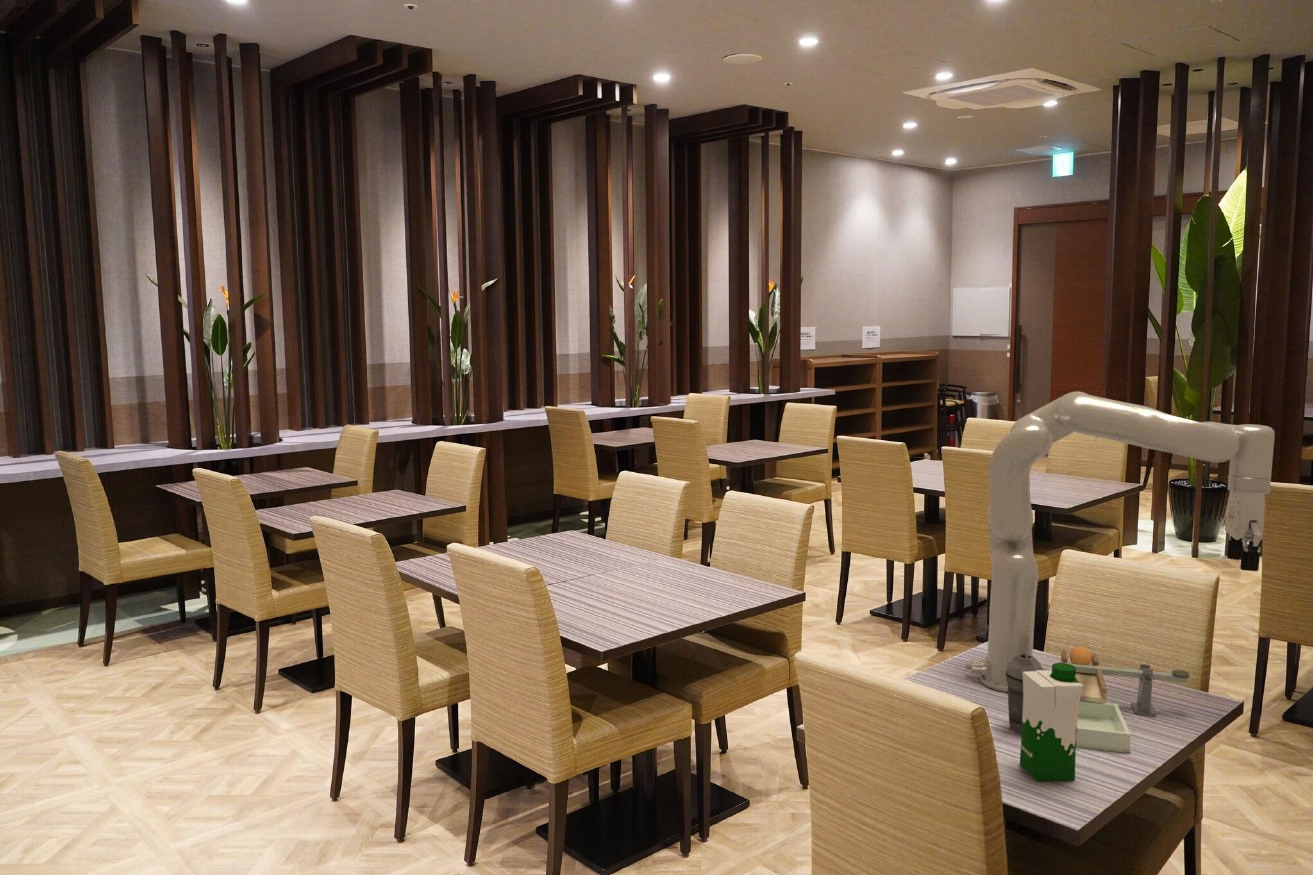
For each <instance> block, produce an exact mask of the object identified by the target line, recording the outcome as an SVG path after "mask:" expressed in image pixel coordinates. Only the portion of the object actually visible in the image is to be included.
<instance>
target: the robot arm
mask: <svg viewBox="0 0 1313 875" xmlns="http://www.w3.org/2000/svg"><path fill="white" fill-rule="evenodd" d="M1073 433H1077V434H1082V435H1087V436H1091V437H1094V438H1095V437H1096V438H1099V439H1100V438H1101V439H1105V440H1110V441H1115V442H1118V443H1119V442H1120V443H1122V444H1128V445H1132V446H1136V447H1140V448H1142V449H1143V448H1145V449H1149V450H1155V451H1156V450H1157V451H1161V452H1165V453H1169V454H1173V455H1178V456H1182V457H1187V458H1191V459H1197V460H1200V461H1205V462H1210V463H1215V464H1216V463H1225V462H1228V461H1229V468H1228V481H1227V490H1228V491H1229V493H1228V494H1229V495H1228V501H1227V506H1226V507H1227V508H1226V513H1225V515H1226V516H1225V519H1224V520H1225V522H1224V531H1225V532H1226V533H1227V534H1228V542H1227V553H1226V557H1227V559H1229V560H1239V561H1240V564H1239V568H1240V570H1241V571H1247V572H1248V571H1250V572H1258V571H1259V570H1260V568H1259V567H1260V558H1261V557H1260V555H1261V545H1262V543H1261V541H1262V539H1263V536H1264V531H1265V530H1264V527H1265V515H1266V514H1265V510H1266V500H1265V499H1266V495H1268V494H1270V493H1271V481H1272V468H1273V458H1274V446H1275V435H1276V434H1275V430H1274V429H1273V428H1272V427H1271V426H1268V425H1262V424H1253V423H1252V424H1249V423H1247V424H1239V425H1238V424H1230V423H1229V424H1228V423H1224V422H1223V423H1222V422H1217V421H1203V422H1201V421H1196V420H1191V419H1187V418H1183V417H1178V416H1176V415H1172V414H1169V413H1166V412H1163V411H1160V410H1158V409H1155V408H1153V407H1149V406H1146V405H1141V404H1135V403H1130V402H1125V401H1120V400H1115V399H1110V398H1105V397H1100V396H1097V395H1090V394H1088V393H1086V392H1084V391H1071V392H1068V393H1066V394H1064V395H1062V396H1060V397H1058V398H1057V399H1054V400H1053V401H1051V402H1050V403H1047V404H1046V405H1045V404H1044V405H1043V406H1041V407H1040V408H1037V409H1036V410H1033V411H1032V412H1030V413H1027V415H1025V416H1023V417H1021V418H1019V419H1018V420H1016V421H1015V422H1014V423H1013V425H1012V426H1011V428H1010V430H1009V433H1008V434H1007V435H1006V436H1004V437H1003V438H1001V440H1000V441H999V442H998V444H997V445H996V447H995V448H994V449H993V452H992V454H991V456H990V458H989V459H990V460H989V465H988V483H989V484H988V490H989V492H988V493H989V494H988V495H989V504H988V508H987V512H986V513H987V514H986V515H987V528H988V543H989V556H990V563H991V564H990V565H991V584H990V598H989V599H990V600H989V620H988V621H989V622H988V623H989V624H988V625H989V626H988V640H987V643H988V644H987V657H984V658H985V659H984V660H980V662H979V661H973V660H965V669H966V670H971V673H976V674H977V673H978V674H979V677H978V678H979V682H980V683H981V684H983V685H984V686H985V687H987V688H989V689H992V690H996V691H1000V692H1005V693H1008V684H1007V679H1006V670H1007V666H1008V664H1009V662H1010V661H1011V660H1012V659H1013V658H1014V657H1016V656H1018V655H1026V645H1027V636H1030V641H1029V652H1028V655H1029V656H1032V657H1033V650H1034V633H1035V632H1034V631H1035V618H1036V617H1035V616H1036V612H1035V611H1036V600H1037V591H1038V586H1039V585H1038V583H1039V567H1038V562H1037V559H1036V557H1035V554H1034V548H1033V547H1034V544H1033V530H1032V528H1033V525H1034V513H1033V510H1032V501H1031V491H1030V490H1031V489H1030V488H1031V485H1030V484H1031V480H1030V478H1031V477H1030V473H1031V469H1032V467H1033V465H1034V463H1035V462H1036V461H1037V460H1040V459H1041V458H1043V457H1045V456H1046V455H1047V454H1048V453H1049V452H1050V451H1051V448H1052V446H1053V444H1054V443H1056V442H1058V441H1060V440H1062V439H1064V438H1066V437H1068V436H1070V435H1071V434H1073Z"/></svg>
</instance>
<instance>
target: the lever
mask: <svg viewBox="0 0 1313 875" xmlns="http://www.w3.org/2000/svg"><path fill="white" fill-rule="evenodd" d="M1066 664H1070V665H1073V666H1074V667H1076V672H1082V673H1092V674H1096V673H1097V669H1101V671H1102V674H1103V676H1104V675H1105V676H1115V677H1125V678H1135V679H1139V678H1142V674H1143V670H1140V669H1130V668H1119V667H1113V666H1112V667H1111V666H1110V667H1109V666H1101V665H1100V666H1099V665H1098V666H1091V665H1081V664H1071V663H1066ZM1189 678H1190V673H1189V672H1188V671H1186V670H1183V669H1182V670H1180V669H1173V670H1172V671H1171V672H1161V671H1153V676H1152V681H1154V680H1155V681H1163V682H1174V683H1185V684H1186V683H1187V679H1189Z"/></svg>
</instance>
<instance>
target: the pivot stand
mask: <svg viewBox="0 0 1313 875" xmlns="http://www.w3.org/2000/svg"><path fill="white" fill-rule="evenodd" d="M1139 670H1143V674H1142V678H1138V690H1137V702H1132V701H1131V702H1130V707H1131V709H1132V710H1133V712H1134V714H1135V715H1138V716H1146V715H1147V716H1148V717H1155V718H1156V717H1157V713H1156V711H1155V710H1156V709H1155V708H1154V706H1153V704H1152V692H1153V690H1152V689H1153V680H1152V676H1153V672H1154V670H1153V669H1151V665H1150V664H1148V663H1147V664H1145V663H1140V665H1139ZM1147 716H1146V717H1147Z"/></svg>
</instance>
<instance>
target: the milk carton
mask: <svg viewBox="0 0 1313 875" xmlns="http://www.w3.org/2000/svg"><path fill="white" fill-rule="evenodd" d="M1042 670H1043V669H1042ZM1042 670H1036V671H1028V672H1023V714H1022V732H1021V735H1020V752H1019V753H1020V757H1019V765H1020V766H1021V767H1022V768H1023V769H1024V770H1025V771H1026V772H1027V773H1028V775H1030V776H1031V777H1032V778H1033V779H1034V780H1035V781H1036V782H1039V783H1040V782H1058V781H1059V782H1062V781H1063V782H1064V781H1065V782H1066V781H1075V780H1076V760H1077V759H1076V756H1077V755H1076V754H1077V751H1076V750H1077V747H1076V739H1077V723H1078V708H1079V701H1080V698H1081V694H1082V690H1083V687H1084V686H1083V685H1082V684H1081V683H1080V682H1079V681H1078V680H1077V679H1076V678H1075V677H1076V667H1074V666H1073V665H1070V664H1066V663H1061V662H1056V663H1053V664H1052V666H1051V670H1047V669H1046V670H1043V671H1042Z"/></svg>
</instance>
